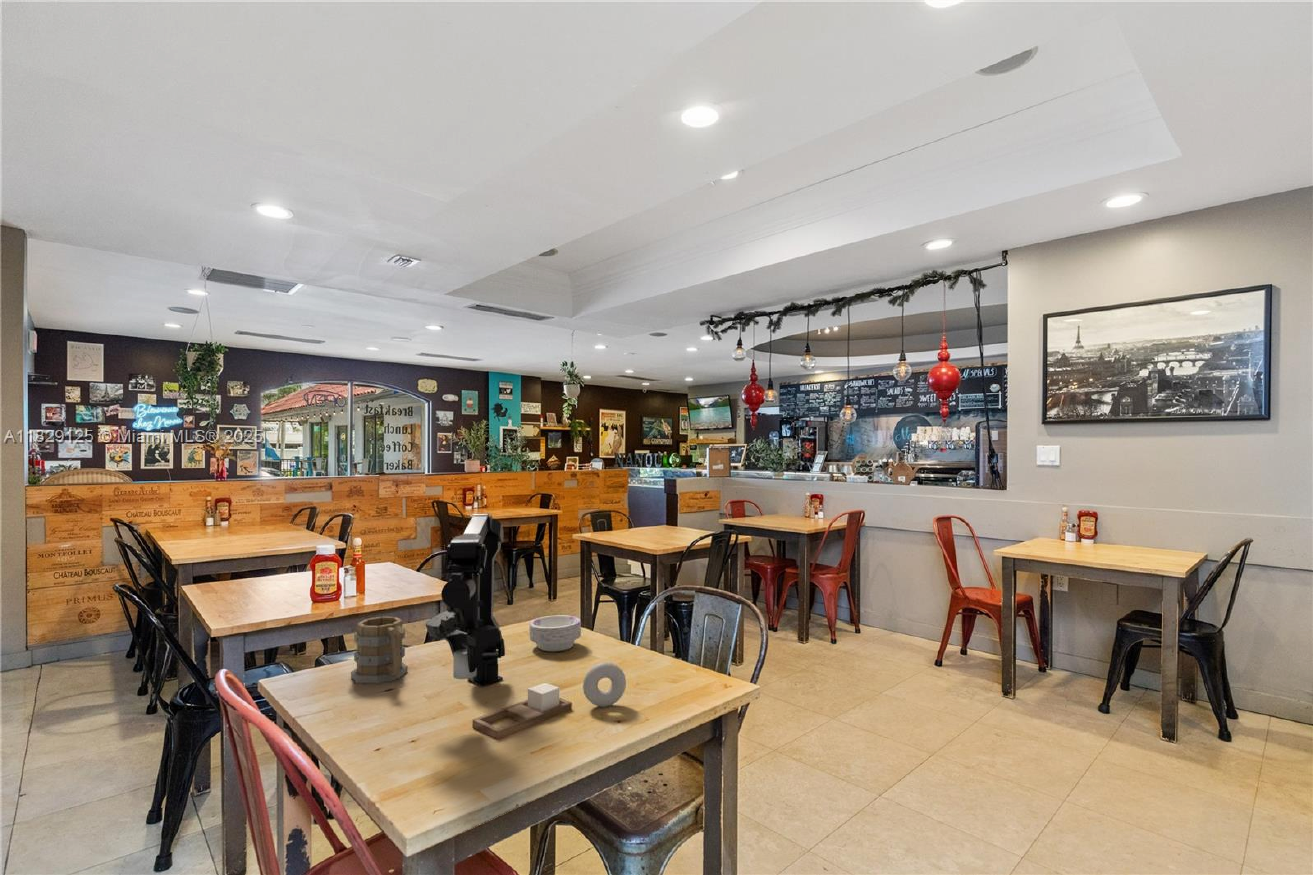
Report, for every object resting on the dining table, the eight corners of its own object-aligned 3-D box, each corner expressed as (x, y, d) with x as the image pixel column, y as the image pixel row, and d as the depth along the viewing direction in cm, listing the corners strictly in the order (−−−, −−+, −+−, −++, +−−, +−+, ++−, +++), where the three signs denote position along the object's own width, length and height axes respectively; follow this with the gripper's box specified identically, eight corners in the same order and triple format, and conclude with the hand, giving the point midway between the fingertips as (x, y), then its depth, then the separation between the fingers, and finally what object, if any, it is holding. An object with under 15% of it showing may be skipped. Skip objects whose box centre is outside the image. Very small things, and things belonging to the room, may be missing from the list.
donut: (584, 711, 145) (584, 666, 146) (581, 705, 149) (581, 662, 149) (627, 707, 148) (627, 663, 148) (624, 701, 151) (624, 658, 152)
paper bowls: (525, 643, 198) (525, 616, 198) (574, 637, 203) (574, 612, 203) (534, 657, 183) (534, 629, 183) (586, 651, 189) (586, 624, 189)
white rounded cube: (527, 711, 146) (527, 688, 146) (544, 704, 150) (544, 682, 150) (542, 716, 143) (542, 694, 143) (559, 710, 147) (559, 687, 147)
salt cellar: (449, 675, 140) (449, 652, 140) (468, 670, 144) (468, 647, 144) (461, 680, 137) (461, 657, 137) (480, 675, 140) (480, 651, 141)
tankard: (346, 674, 170) (346, 617, 170) (395, 663, 178) (395, 609, 179) (372, 696, 155) (372, 633, 155) (424, 683, 163) (424, 623, 164)
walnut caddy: (472, 726, 137) (472, 719, 138) (546, 699, 153) (546, 692, 153) (497, 739, 132) (497, 731, 132) (571, 709, 147) (571, 702, 147)
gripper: (409, 596, 141) (409, 669, 141) (455, 610, 129) (454, 690, 128) (455, 589, 149) (455, 657, 149) (502, 601, 137) (502, 675, 136)
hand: (465, 669), depth 140 cm, fingers closed on salt cellar, 5 cm apart
